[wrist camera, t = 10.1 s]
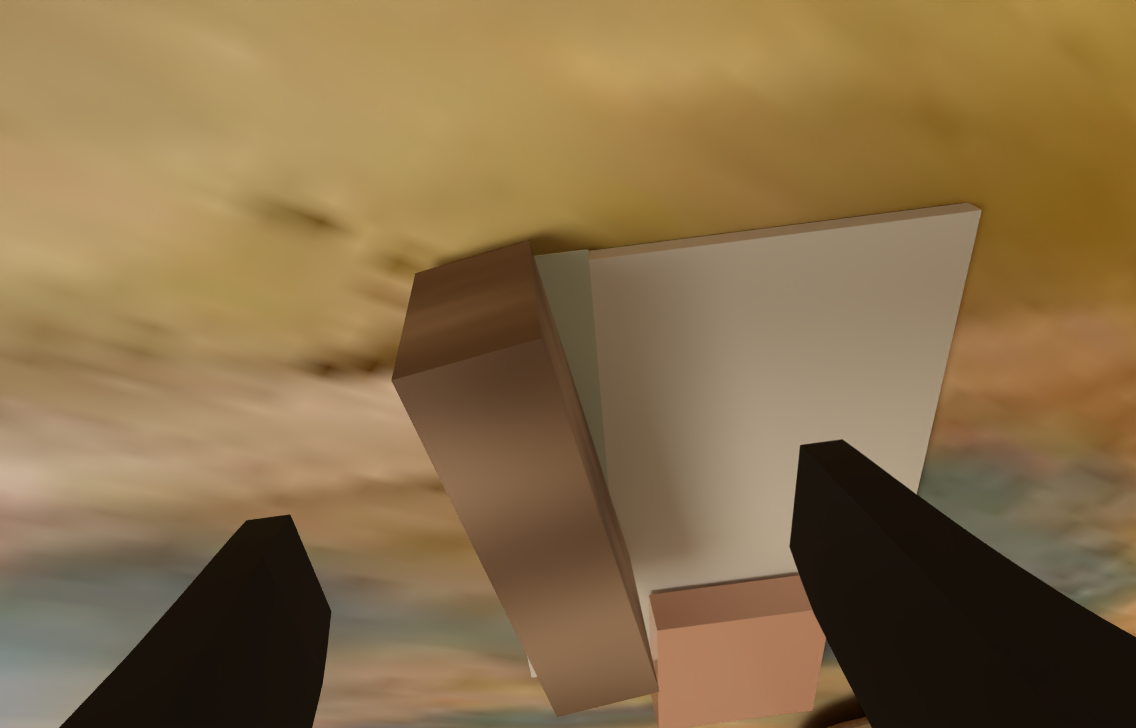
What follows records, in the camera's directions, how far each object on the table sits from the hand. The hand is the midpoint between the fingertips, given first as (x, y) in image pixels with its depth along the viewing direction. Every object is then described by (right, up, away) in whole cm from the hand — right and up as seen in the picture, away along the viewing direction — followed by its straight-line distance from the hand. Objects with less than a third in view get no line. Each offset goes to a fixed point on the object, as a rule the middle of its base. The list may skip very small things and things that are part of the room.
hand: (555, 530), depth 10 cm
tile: (+6, -6, +14) cm, 16 cm away
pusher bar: (-1, 0, +11) cm, 11 cm away
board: (+5, -1, +13) cm, 14 cm away
